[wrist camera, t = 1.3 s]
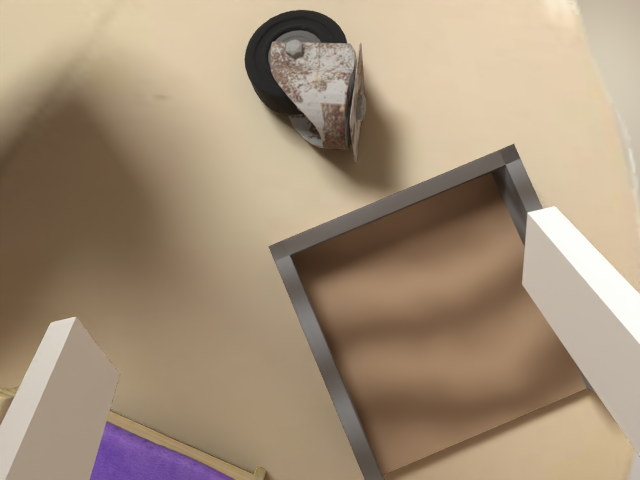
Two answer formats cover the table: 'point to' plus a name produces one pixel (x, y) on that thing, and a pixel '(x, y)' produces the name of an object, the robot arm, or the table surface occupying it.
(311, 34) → the caster wheel
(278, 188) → the table surface
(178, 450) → the toy sofa
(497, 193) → the square tray
